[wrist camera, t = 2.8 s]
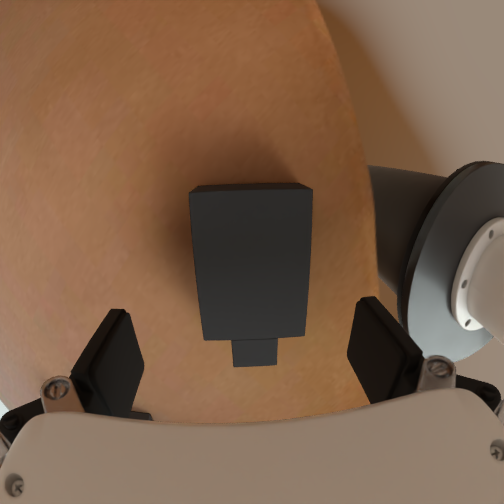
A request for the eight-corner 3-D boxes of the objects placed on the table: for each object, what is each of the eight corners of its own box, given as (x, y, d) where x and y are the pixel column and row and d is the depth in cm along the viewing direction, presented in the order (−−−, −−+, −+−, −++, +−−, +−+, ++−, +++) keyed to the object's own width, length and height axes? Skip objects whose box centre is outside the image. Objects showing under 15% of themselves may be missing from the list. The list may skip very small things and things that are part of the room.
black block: (299, 182, 19) (312, 188, 15) (294, 335, 23) (302, 363, 19) (197, 185, 18) (188, 192, 15) (211, 339, 23) (208, 367, 19)
